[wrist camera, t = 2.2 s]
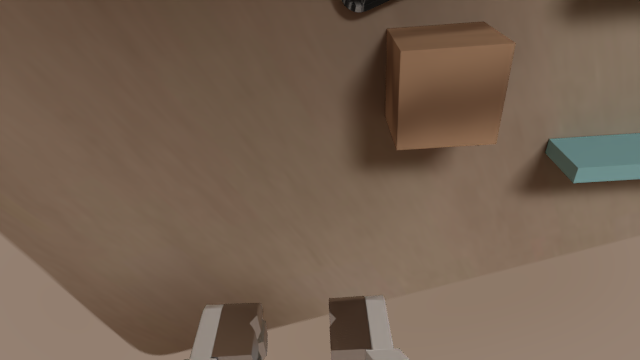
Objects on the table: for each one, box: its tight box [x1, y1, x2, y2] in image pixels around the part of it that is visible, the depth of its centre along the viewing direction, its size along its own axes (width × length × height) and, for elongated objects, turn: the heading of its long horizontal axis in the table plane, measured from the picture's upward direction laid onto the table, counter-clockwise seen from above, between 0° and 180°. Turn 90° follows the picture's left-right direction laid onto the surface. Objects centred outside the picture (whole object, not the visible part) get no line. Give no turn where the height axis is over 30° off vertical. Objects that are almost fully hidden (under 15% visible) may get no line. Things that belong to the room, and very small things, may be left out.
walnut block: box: [385, 22, 516, 150], centre depth 25 cm, size 6×6×5 cm
